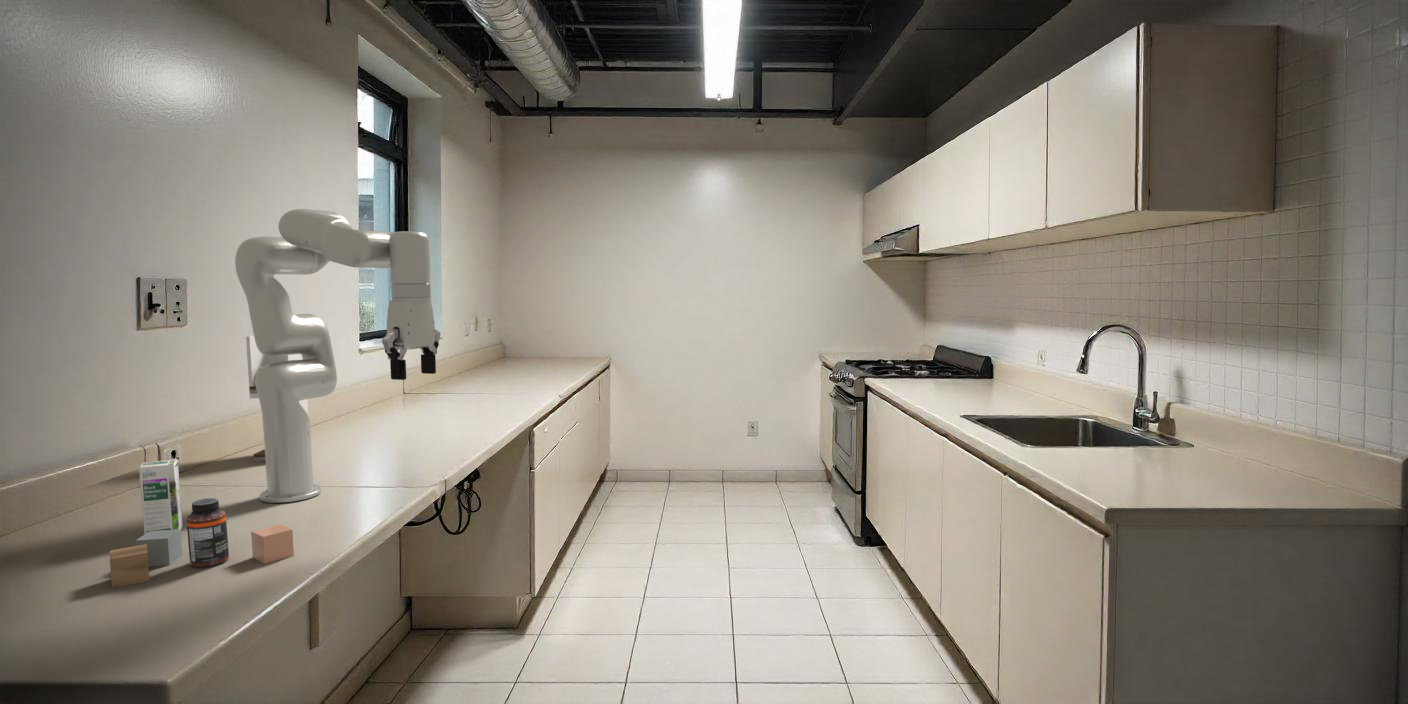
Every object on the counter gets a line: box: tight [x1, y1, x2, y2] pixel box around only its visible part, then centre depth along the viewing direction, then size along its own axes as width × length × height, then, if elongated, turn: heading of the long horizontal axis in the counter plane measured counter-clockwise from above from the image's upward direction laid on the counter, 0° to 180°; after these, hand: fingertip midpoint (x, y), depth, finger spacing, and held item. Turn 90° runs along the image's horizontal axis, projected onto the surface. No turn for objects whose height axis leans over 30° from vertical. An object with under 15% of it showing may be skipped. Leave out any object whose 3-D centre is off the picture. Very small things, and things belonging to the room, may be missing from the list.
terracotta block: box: [250, 524, 295, 565], centre depth 139 cm, size 5×5×5 cm
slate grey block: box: [135, 529, 183, 568], centre depth 137 cm, size 5×5×5 cm
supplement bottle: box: [186, 497, 230, 568], centre depth 136 cm, size 6×6×11 cm
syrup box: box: [138, 458, 183, 535], centre depth 151 cm, size 6×6×14 cm
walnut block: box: [109, 544, 150, 589], centre depth 128 cm, size 5×5×5 cm
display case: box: [245, 334, 309, 463], centre depth 217 cm, size 11×11×35 cm
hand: (414, 376), depth 156 cm, fingers open, 9 cm apart
